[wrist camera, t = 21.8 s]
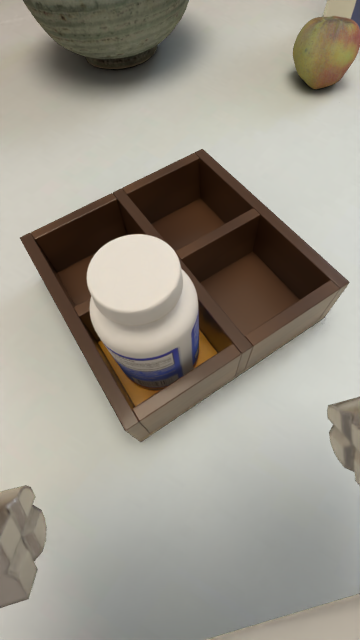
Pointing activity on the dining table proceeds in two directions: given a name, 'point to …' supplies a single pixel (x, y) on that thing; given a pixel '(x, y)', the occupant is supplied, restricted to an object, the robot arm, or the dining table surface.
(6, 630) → the dining table surface
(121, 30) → the bowl
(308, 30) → the apple
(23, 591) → the robot arm
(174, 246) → the grid
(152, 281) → the pill bottle
